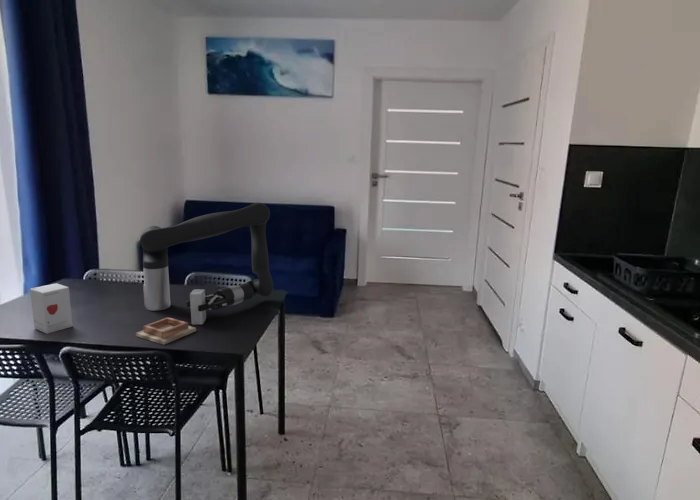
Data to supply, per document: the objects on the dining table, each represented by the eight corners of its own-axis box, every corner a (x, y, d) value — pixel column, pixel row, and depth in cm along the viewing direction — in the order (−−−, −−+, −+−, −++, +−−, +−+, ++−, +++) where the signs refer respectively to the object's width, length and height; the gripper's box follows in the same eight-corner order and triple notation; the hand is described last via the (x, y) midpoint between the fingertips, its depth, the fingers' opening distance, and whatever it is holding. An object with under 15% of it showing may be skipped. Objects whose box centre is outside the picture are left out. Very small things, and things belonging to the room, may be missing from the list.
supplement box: (46, 334, 156) (41, 293, 153) (33, 328, 161) (28, 288, 158) (73, 326, 164) (69, 286, 161) (61, 321, 168) (56, 282, 165)
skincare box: (195, 318, 174) (193, 289, 171) (206, 318, 174) (205, 288, 172) (191, 324, 168) (189, 293, 165) (202, 324, 168) (201, 293, 166)
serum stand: (135, 336, 157) (135, 326, 156) (169, 323, 169) (168, 314, 168) (163, 344, 150) (163, 335, 149) (196, 331, 162) (195, 322, 162)
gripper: (218, 283, 184) (181, 292, 171) (240, 291, 176) (203, 301, 163) (218, 301, 186) (182, 311, 173) (241, 309, 177) (204, 320, 164)
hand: (192, 306), depth 168 cm, fingers closed on skincare box, 7 cm apart
